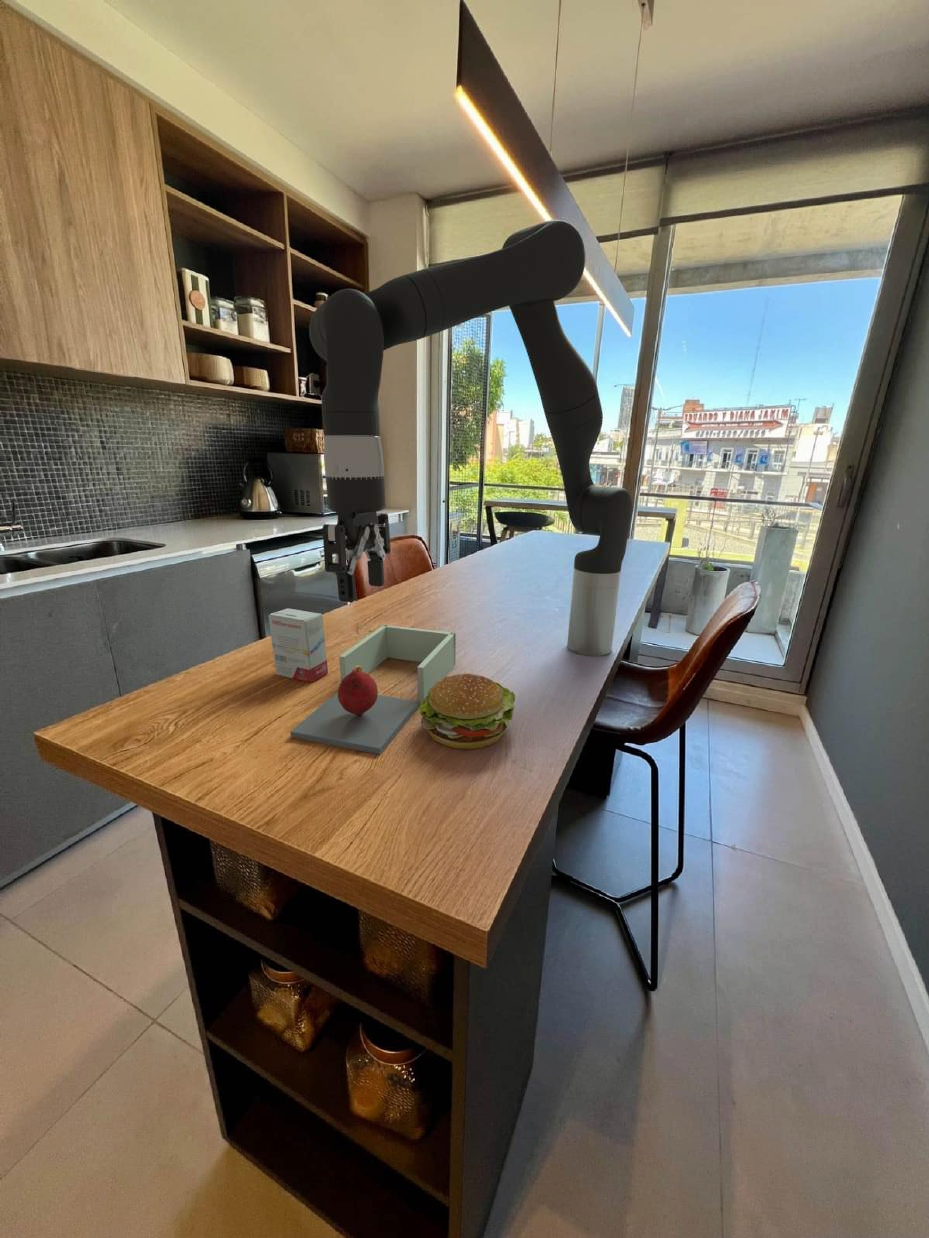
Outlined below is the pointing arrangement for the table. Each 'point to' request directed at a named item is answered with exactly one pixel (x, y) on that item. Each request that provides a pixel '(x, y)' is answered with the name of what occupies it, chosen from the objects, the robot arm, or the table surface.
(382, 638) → the cubby
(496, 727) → the food
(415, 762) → the table surface
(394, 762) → the table surface
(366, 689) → the onion
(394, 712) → the tile
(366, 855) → the table surface
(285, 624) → the ink box
